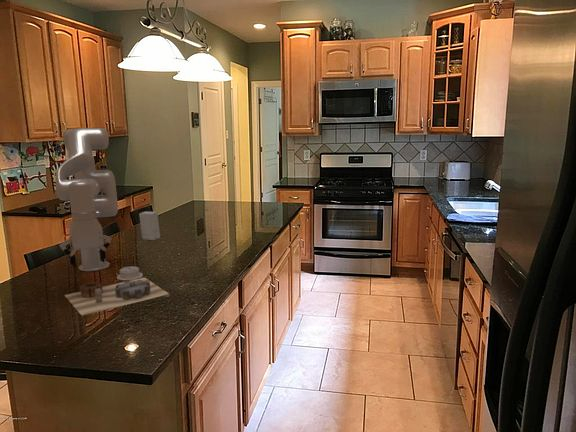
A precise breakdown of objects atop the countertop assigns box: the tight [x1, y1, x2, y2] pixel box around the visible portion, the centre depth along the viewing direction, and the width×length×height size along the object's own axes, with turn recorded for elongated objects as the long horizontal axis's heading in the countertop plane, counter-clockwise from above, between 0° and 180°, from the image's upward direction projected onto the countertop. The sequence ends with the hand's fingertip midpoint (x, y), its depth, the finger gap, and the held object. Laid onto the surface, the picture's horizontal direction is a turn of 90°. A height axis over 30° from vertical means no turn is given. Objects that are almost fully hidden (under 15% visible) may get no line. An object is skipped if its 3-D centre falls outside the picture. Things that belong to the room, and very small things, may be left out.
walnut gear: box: [79, 281, 103, 298], centre depth 168 cm, size 7×7×4 cm
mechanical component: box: [116, 266, 144, 281], centre depth 188 cm, size 10×4×10 cm
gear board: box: [64, 277, 171, 319], centre depth 168 cm, size 24×30×6 cm
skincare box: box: [138, 210, 161, 241], centre depth 252 cm, size 8×6×15 cm
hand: (88, 263), depth 166 cm, fingers open, 9 cm apart
